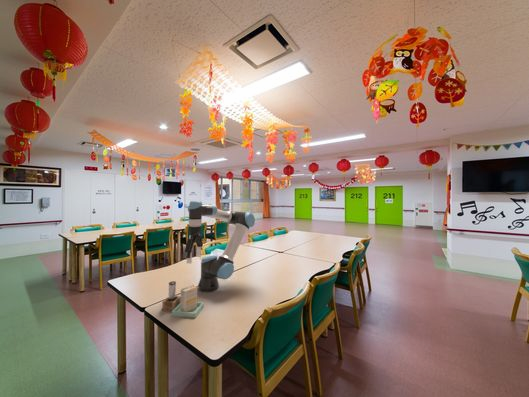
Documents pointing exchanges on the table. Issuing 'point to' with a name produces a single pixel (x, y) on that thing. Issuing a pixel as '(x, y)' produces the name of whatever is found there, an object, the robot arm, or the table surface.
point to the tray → (191, 314)
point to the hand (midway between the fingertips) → (194, 259)
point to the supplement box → (188, 298)
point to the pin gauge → (172, 291)
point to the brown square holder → (171, 303)
